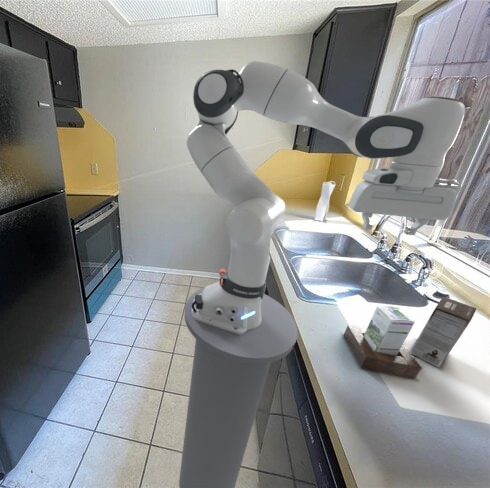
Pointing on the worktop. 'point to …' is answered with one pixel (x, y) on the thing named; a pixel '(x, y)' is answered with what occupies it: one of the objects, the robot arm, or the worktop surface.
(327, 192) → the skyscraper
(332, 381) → the worktop surface
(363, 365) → the socket pad
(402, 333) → the syrup box
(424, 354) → the coffee box
